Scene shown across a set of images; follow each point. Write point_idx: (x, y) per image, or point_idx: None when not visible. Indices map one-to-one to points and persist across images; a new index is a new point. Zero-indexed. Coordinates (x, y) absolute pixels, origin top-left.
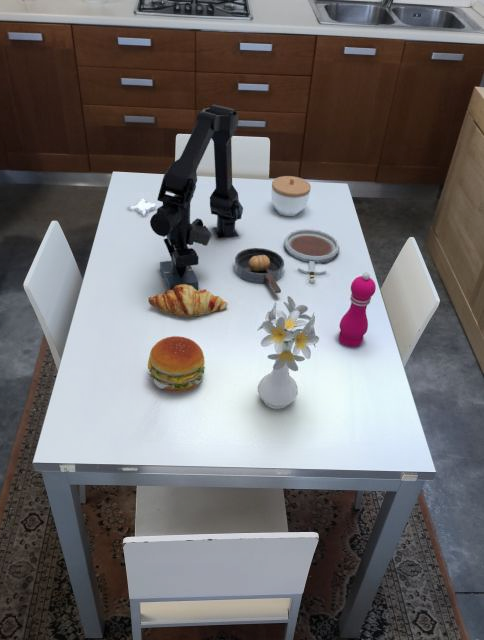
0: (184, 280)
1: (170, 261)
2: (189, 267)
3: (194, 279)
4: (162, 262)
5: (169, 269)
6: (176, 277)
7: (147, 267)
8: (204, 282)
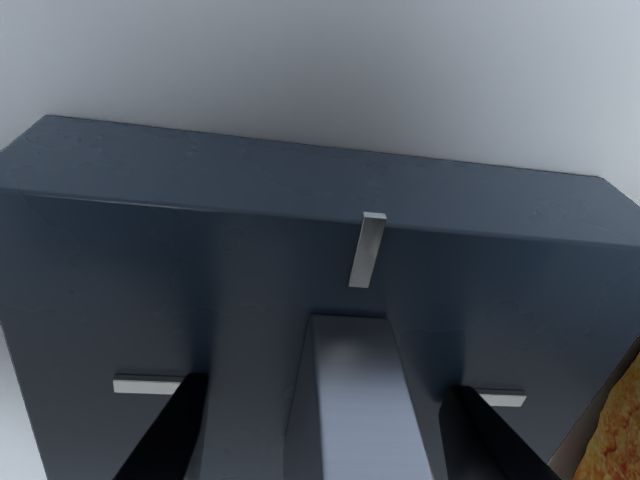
0: (546, 385)
1: (48, 413)
2: (273, 242)
3: (612, 281)
4: (67, 476)
5: (243, 452)
6: (436, 431)
7: (13, 446)
8: (492, 13)
